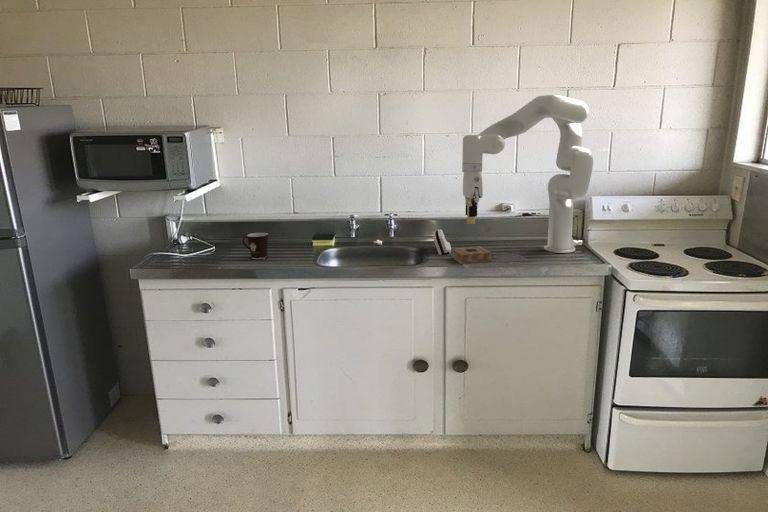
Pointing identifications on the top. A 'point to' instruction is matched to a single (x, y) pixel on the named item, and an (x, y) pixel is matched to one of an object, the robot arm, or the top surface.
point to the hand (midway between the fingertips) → (471, 215)
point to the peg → (469, 219)
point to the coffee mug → (257, 244)
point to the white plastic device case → (441, 242)
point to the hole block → (471, 255)
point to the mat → (509, 258)
